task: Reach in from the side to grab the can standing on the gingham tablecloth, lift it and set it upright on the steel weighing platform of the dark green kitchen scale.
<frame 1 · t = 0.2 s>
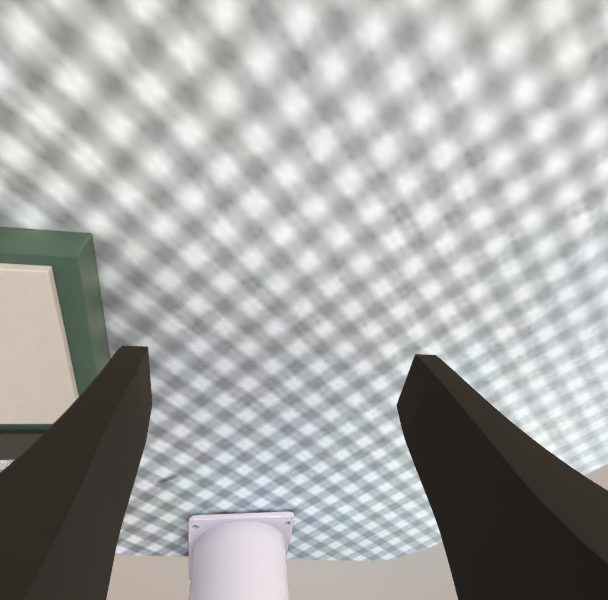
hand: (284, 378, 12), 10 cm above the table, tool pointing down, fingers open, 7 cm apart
scale: (3, 342, 22), on the table
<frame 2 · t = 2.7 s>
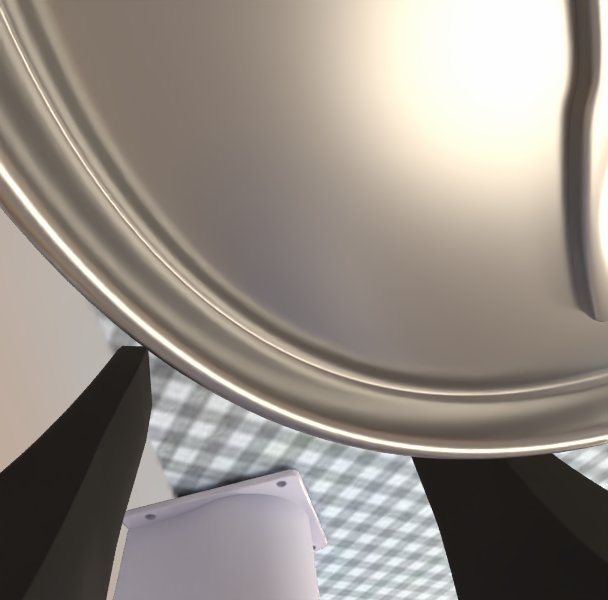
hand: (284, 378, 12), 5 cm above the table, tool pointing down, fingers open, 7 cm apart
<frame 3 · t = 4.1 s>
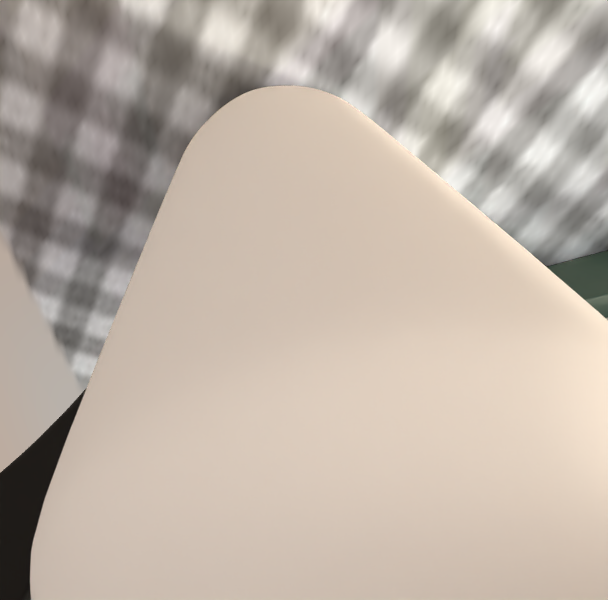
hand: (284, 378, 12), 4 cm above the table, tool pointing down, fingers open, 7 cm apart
can: (286, 198, 13), on the table
scale: (594, 348, 18), on the table
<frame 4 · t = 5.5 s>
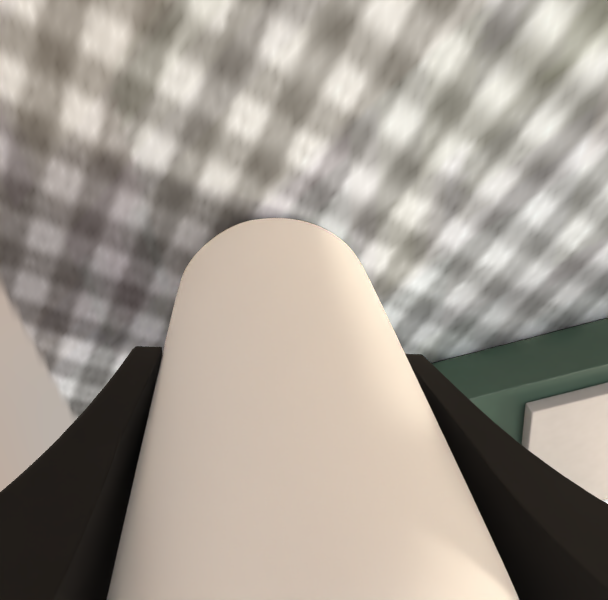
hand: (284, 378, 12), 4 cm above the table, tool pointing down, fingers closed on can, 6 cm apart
can: (274, 296, 15), on the table, touching gripper
scale: (556, 407, 20), on the table
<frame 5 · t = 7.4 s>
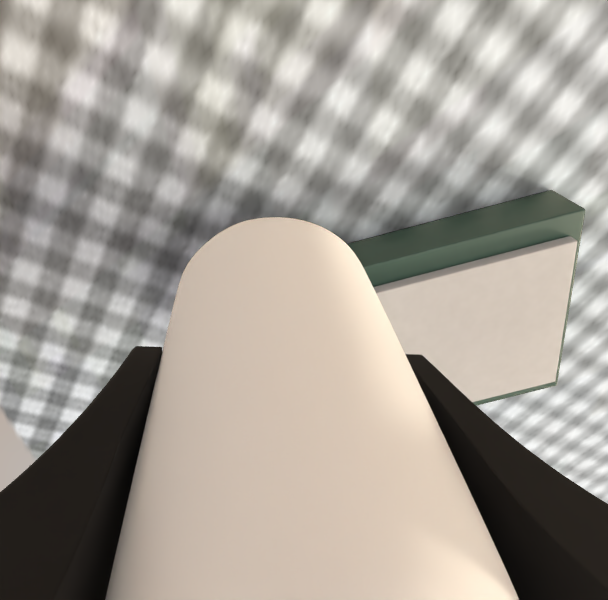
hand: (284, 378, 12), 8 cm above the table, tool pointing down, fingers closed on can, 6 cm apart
can: (274, 295, 15), point 4 cm above the table, touching gripper
scale: (412, 317, 21), on the table
when the fingers open (7 cm above the table, at t = 9.4 s): can stays where it is, resting on scale.
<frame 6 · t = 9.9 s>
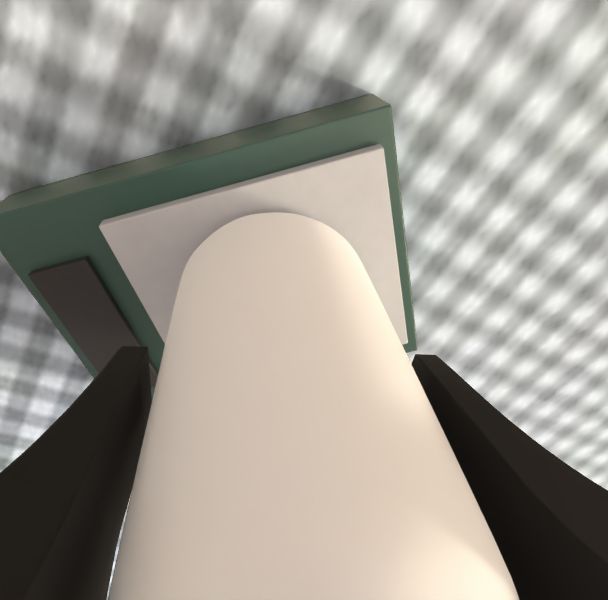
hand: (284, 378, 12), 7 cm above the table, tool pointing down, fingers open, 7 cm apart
can: (274, 289, 15), point 3 cm above the table, touching scale
scale: (235, 266, 17), on the table
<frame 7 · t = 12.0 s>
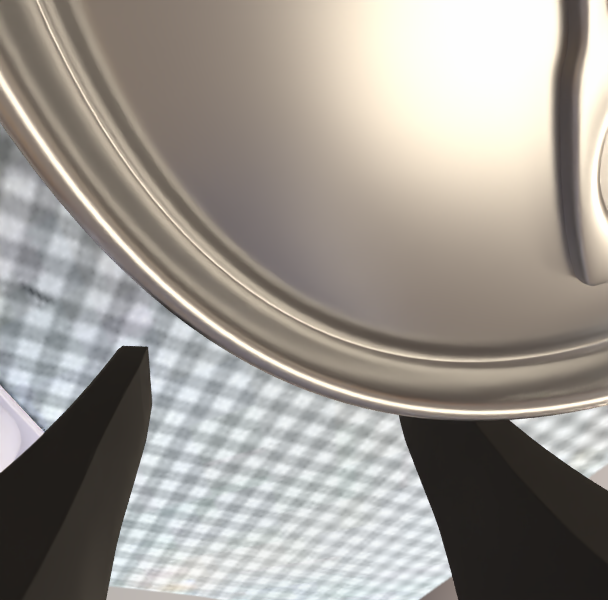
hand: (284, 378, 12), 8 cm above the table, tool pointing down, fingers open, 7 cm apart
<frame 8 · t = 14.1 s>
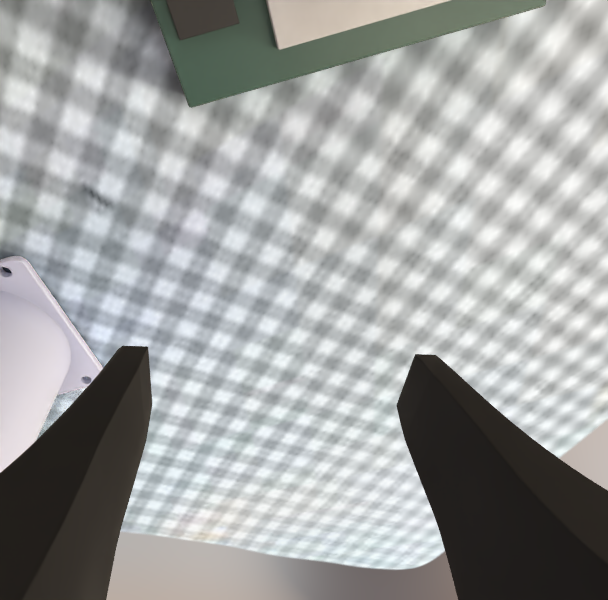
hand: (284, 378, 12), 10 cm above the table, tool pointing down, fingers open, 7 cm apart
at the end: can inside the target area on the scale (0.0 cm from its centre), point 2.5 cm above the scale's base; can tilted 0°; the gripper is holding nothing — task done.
